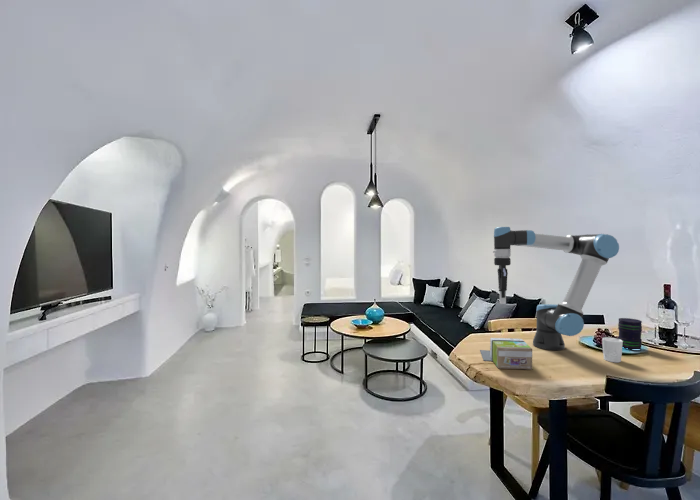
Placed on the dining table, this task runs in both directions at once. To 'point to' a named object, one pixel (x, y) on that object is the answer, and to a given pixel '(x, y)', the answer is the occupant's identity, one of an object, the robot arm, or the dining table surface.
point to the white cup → (612, 349)
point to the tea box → (510, 353)
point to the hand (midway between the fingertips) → (502, 303)
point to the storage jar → (630, 333)
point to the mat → (486, 355)
